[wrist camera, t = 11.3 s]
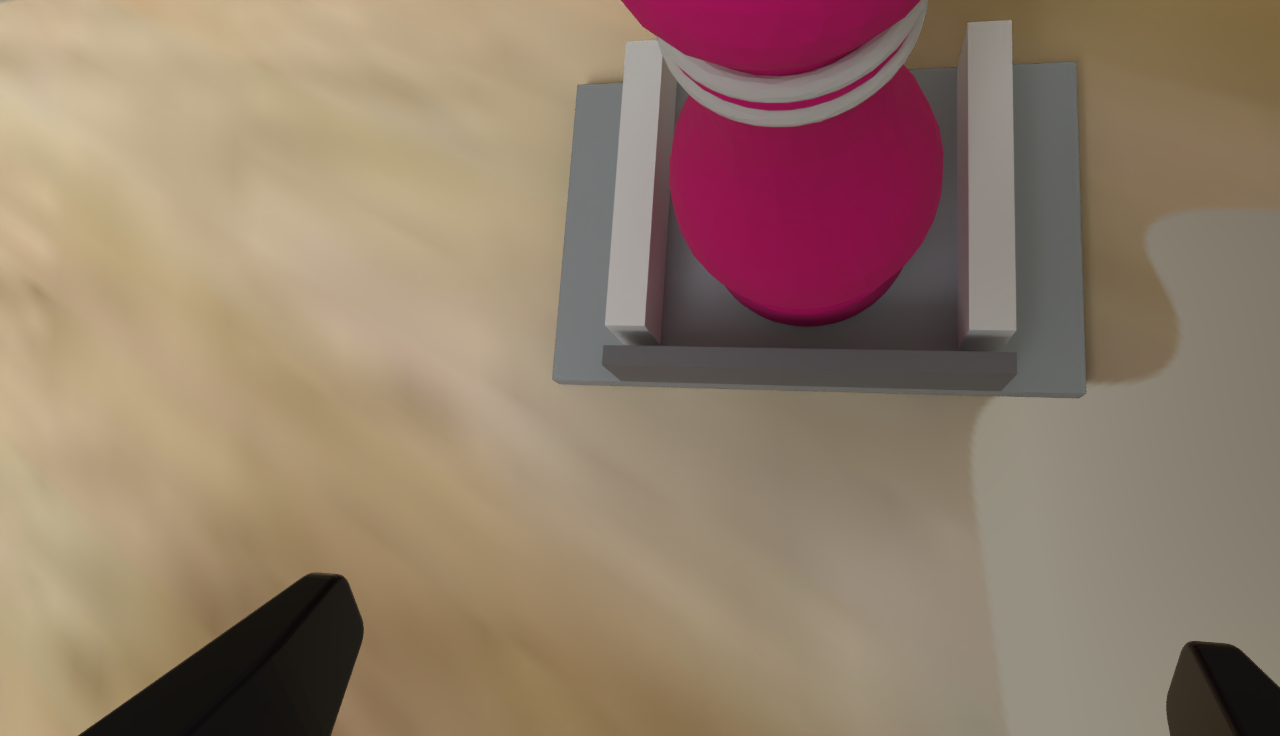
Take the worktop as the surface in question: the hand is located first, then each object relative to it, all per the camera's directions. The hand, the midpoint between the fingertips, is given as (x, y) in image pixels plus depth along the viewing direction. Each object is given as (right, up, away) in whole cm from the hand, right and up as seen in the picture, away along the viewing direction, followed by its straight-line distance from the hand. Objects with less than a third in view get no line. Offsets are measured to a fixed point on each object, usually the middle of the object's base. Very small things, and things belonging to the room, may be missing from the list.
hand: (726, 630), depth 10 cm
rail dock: (+5, +7, +20) cm, 21 cm away
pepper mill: (+4, +7, +19) cm, 21 cm away
